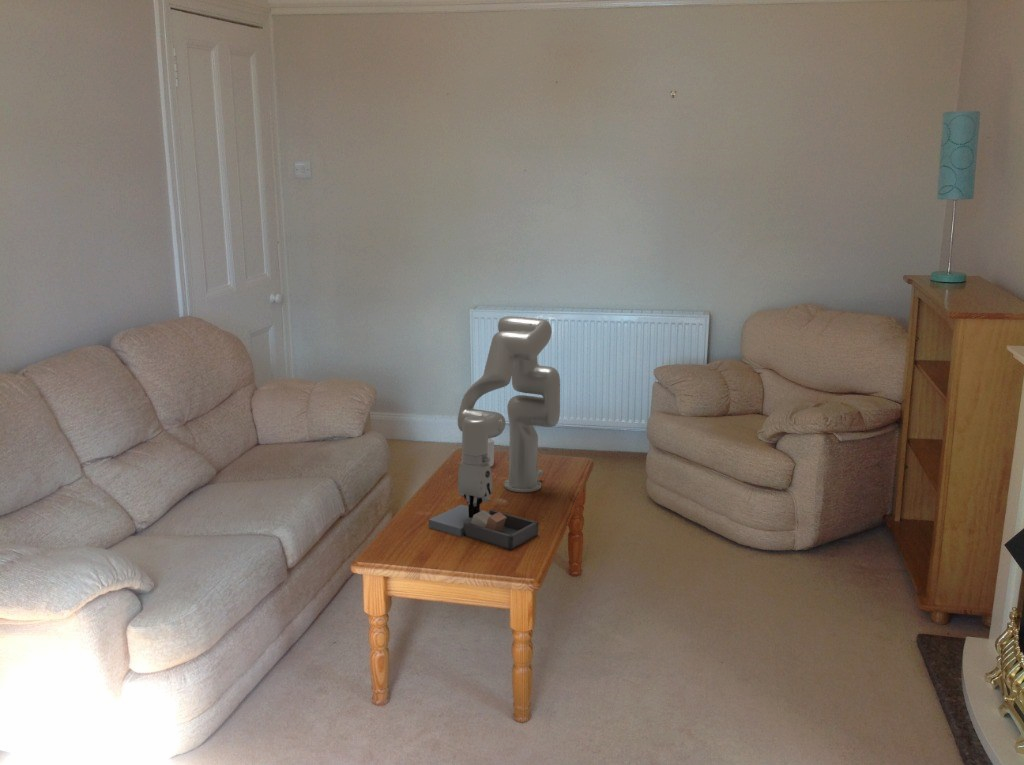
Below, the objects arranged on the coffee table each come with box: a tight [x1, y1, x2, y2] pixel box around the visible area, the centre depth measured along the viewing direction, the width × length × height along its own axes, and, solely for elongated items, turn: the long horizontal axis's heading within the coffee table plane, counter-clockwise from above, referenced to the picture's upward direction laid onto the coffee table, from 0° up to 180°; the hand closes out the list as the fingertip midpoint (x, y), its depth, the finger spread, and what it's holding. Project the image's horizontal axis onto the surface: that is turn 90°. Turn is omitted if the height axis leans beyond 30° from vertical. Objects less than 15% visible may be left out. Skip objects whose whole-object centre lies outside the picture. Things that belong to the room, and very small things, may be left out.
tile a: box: [471, 509, 491, 528], centre depth 286 cm, size 5×5×3 cm
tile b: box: [485, 511, 507, 532], centre depth 284 cm, size 5×5×3 cm
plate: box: [428, 504, 489, 537], centre depth 292 cm, size 16×12×2 cm
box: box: [462, 509, 539, 551], centre depth 283 cm, size 14×17×4 cm
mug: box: [487, 437, 495, 468], centre depth 349 cm, size 12×9×9 cm
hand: (473, 516), depth 288 cm, fingers closed
